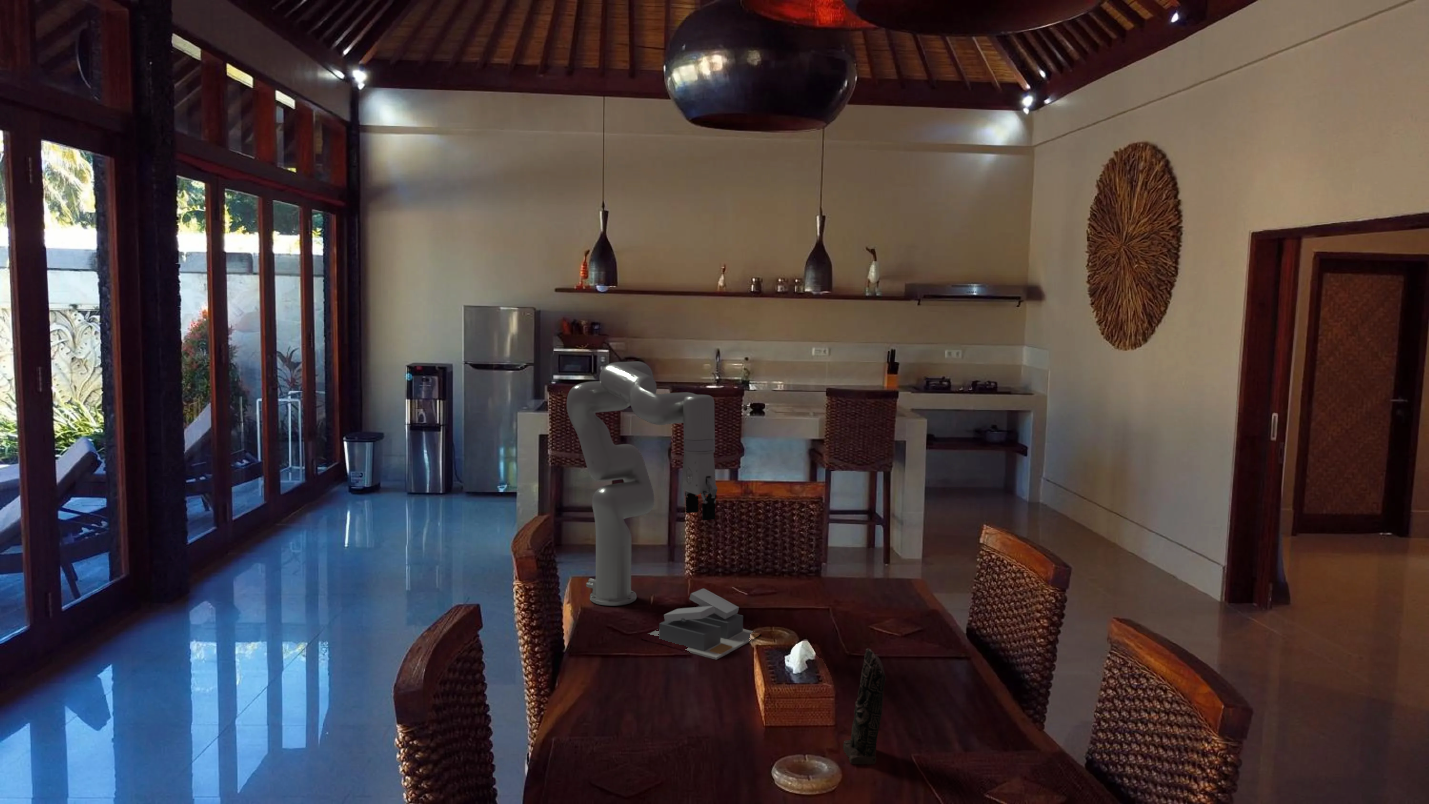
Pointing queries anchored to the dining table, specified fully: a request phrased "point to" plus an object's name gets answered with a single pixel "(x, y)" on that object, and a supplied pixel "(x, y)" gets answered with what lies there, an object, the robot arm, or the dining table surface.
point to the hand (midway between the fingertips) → (700, 516)
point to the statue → (867, 712)
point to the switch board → (706, 634)
